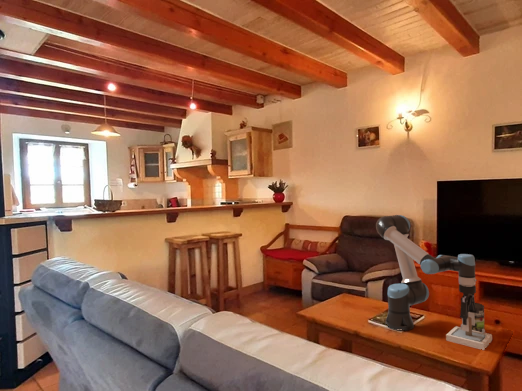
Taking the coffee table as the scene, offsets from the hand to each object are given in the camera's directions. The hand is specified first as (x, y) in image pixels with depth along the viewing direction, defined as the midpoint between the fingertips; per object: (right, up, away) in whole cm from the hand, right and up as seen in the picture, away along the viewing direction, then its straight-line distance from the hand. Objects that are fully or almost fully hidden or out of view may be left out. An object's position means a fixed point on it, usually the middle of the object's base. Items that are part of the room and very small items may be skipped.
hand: (468, 327), depth 180 cm
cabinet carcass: (0, -7, 0) cm, 7 cm away
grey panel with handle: (0, -5, 0) cm, 5 cm away
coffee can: (+10, -6, +13) cm, 17 cm away
